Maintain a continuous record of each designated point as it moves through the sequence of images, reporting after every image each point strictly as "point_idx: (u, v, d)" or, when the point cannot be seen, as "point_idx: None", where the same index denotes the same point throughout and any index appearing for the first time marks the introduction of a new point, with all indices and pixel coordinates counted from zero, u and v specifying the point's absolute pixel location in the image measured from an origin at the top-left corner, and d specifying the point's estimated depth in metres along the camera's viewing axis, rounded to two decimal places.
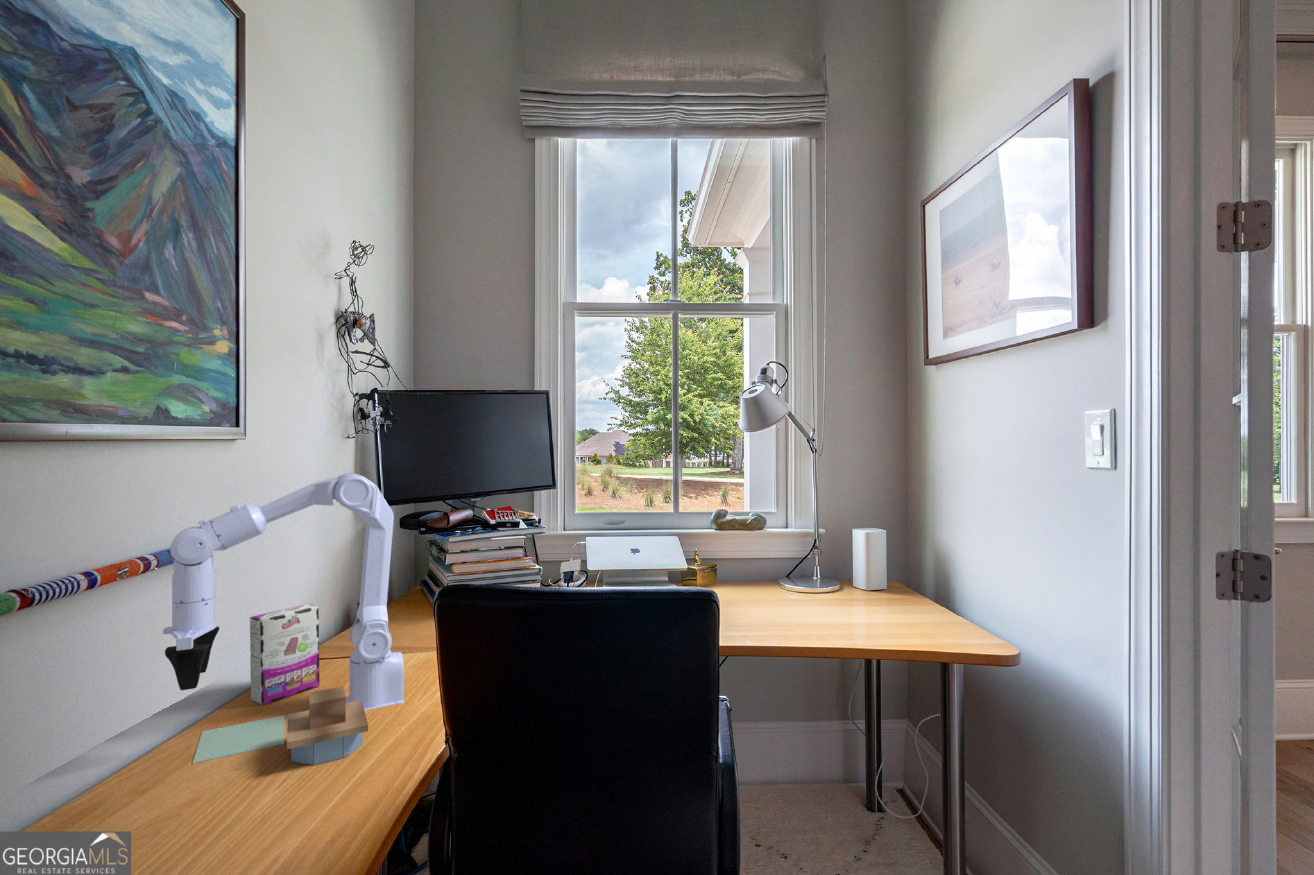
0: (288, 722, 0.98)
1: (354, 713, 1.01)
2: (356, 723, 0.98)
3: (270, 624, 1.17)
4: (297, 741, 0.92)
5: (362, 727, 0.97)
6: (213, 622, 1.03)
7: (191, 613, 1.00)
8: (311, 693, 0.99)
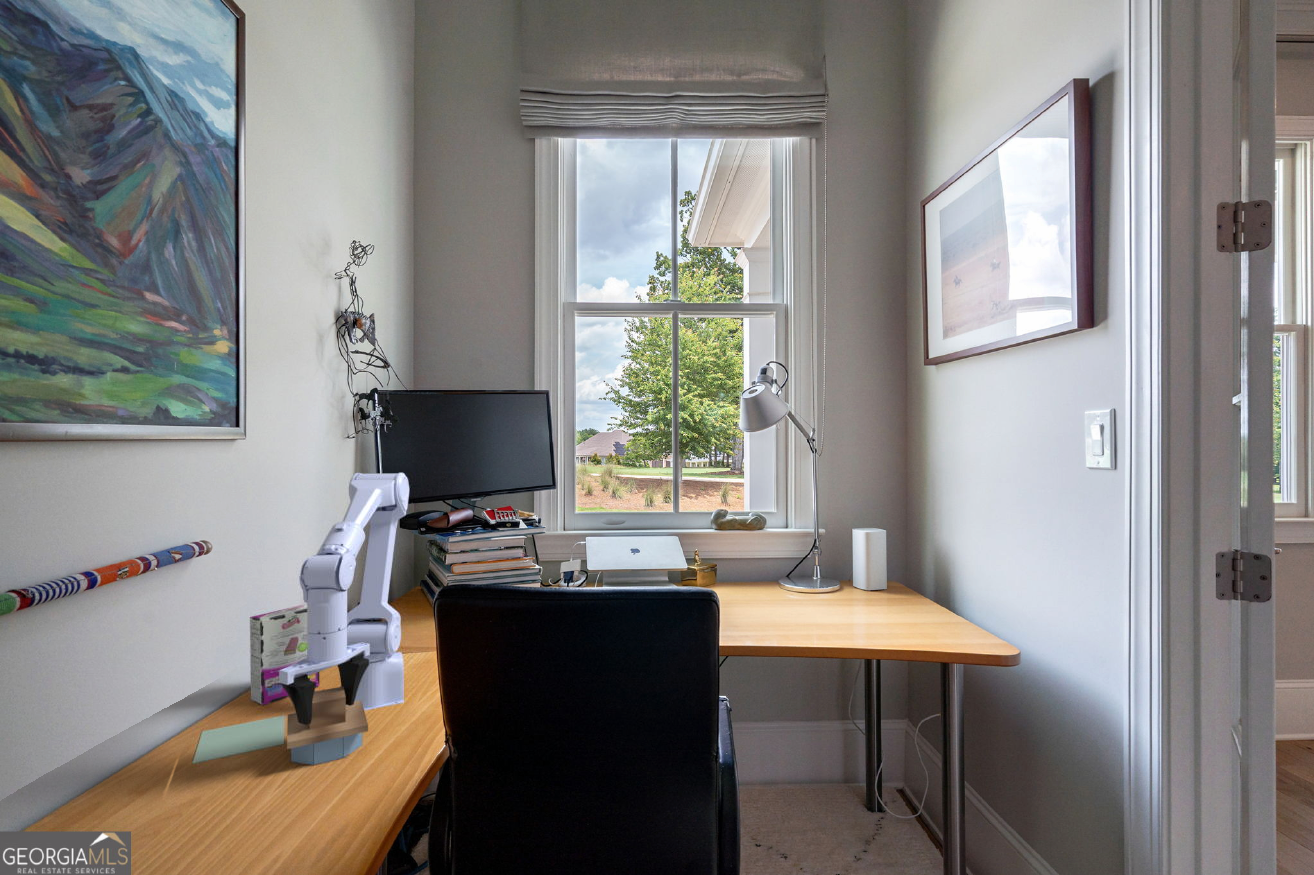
0: (288, 722, 0.98)
1: (354, 713, 1.01)
2: (356, 723, 0.98)
3: (270, 624, 1.17)
4: (297, 741, 0.92)
5: (362, 727, 0.97)
6: (336, 658, 0.97)
7: (311, 644, 0.96)
8: None
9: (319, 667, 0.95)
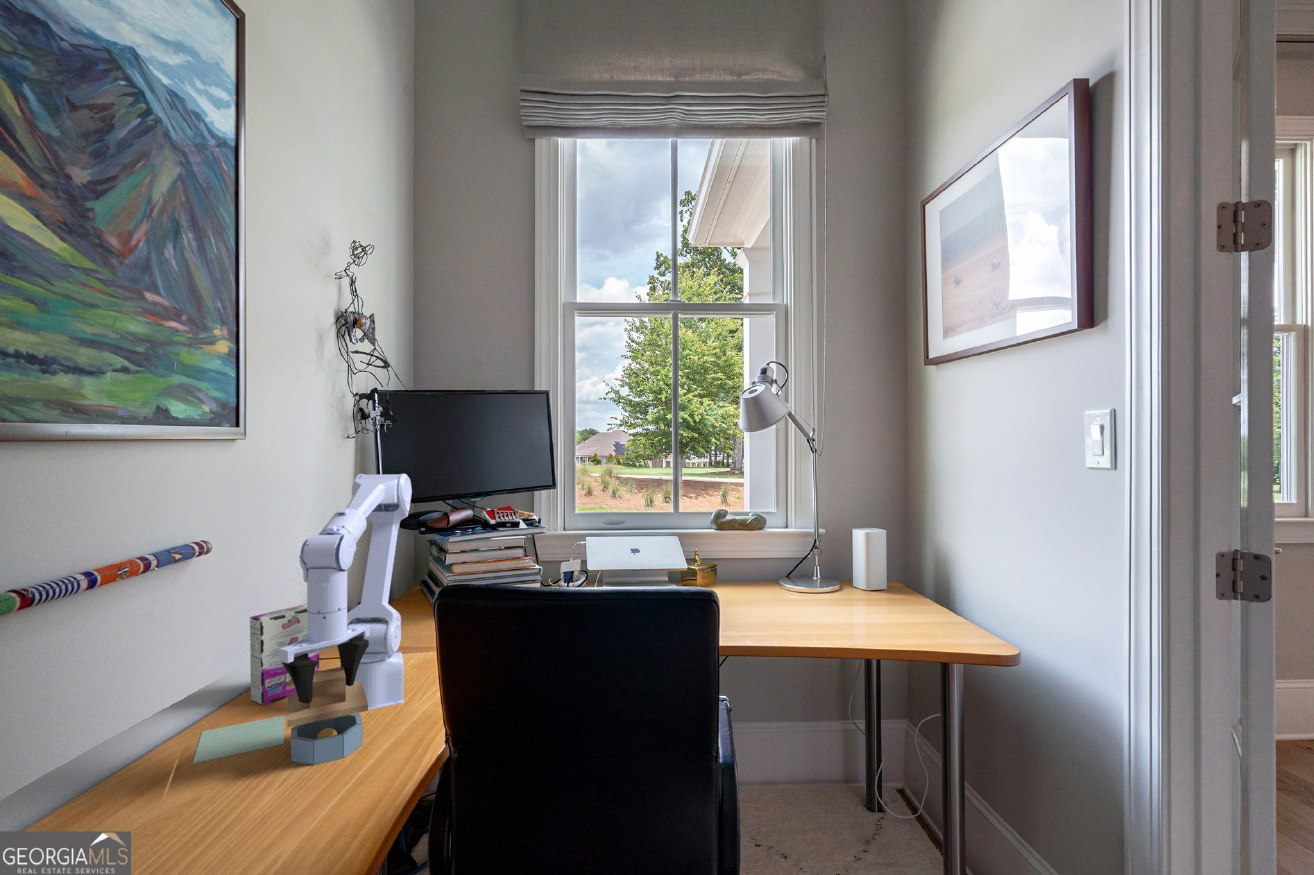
0: (288, 702, 0.98)
1: (354, 693, 1.01)
2: (356, 703, 0.98)
3: (270, 624, 1.17)
4: (297, 719, 0.92)
5: (362, 706, 0.97)
6: (336, 637, 0.97)
7: (311, 624, 0.96)
8: None
9: (319, 646, 0.95)
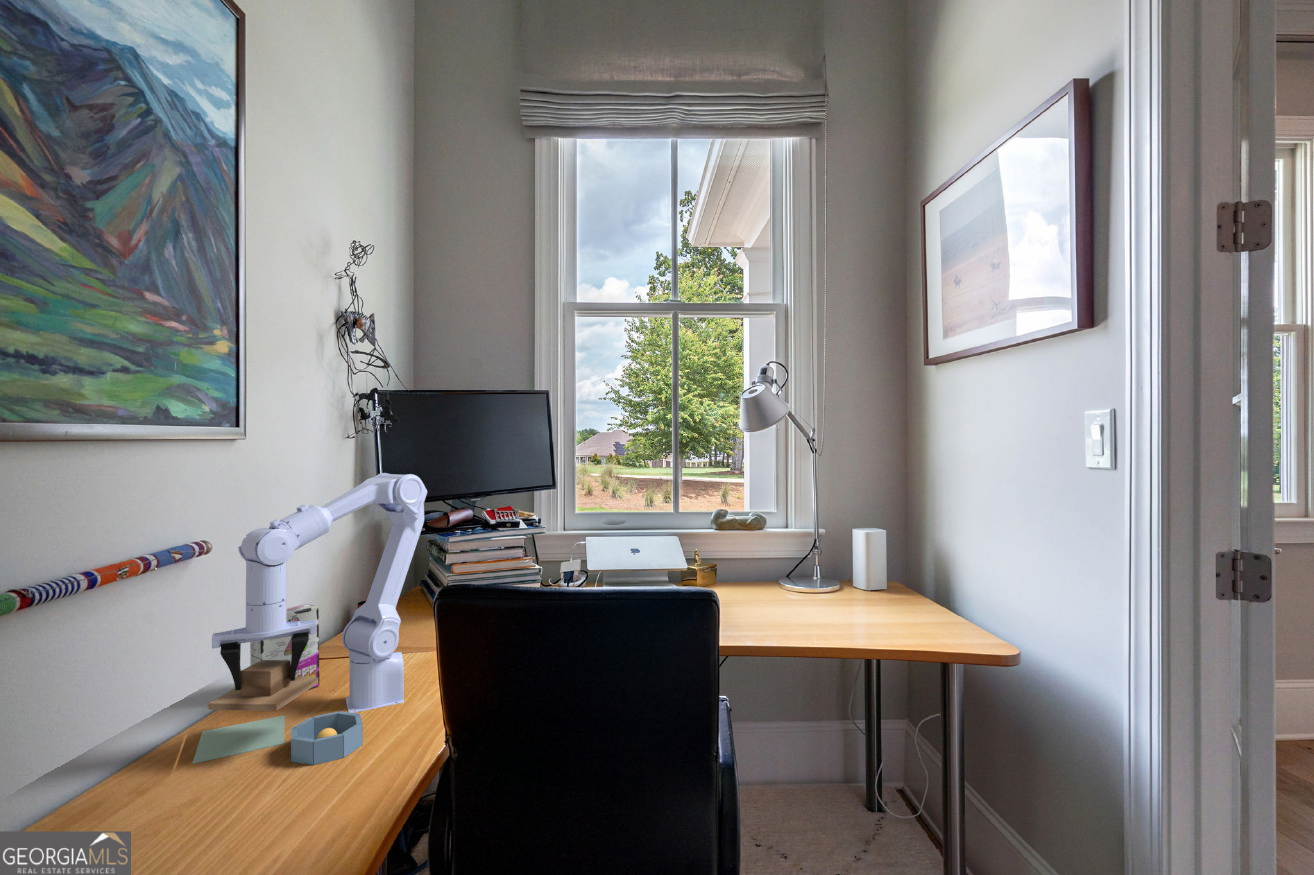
0: None
1: (291, 689, 1.01)
2: (273, 700, 0.97)
3: None
4: (216, 704, 0.96)
5: (271, 705, 0.96)
6: (262, 631, 0.99)
7: None
8: (260, 661, 1.03)
9: (244, 637, 0.98)
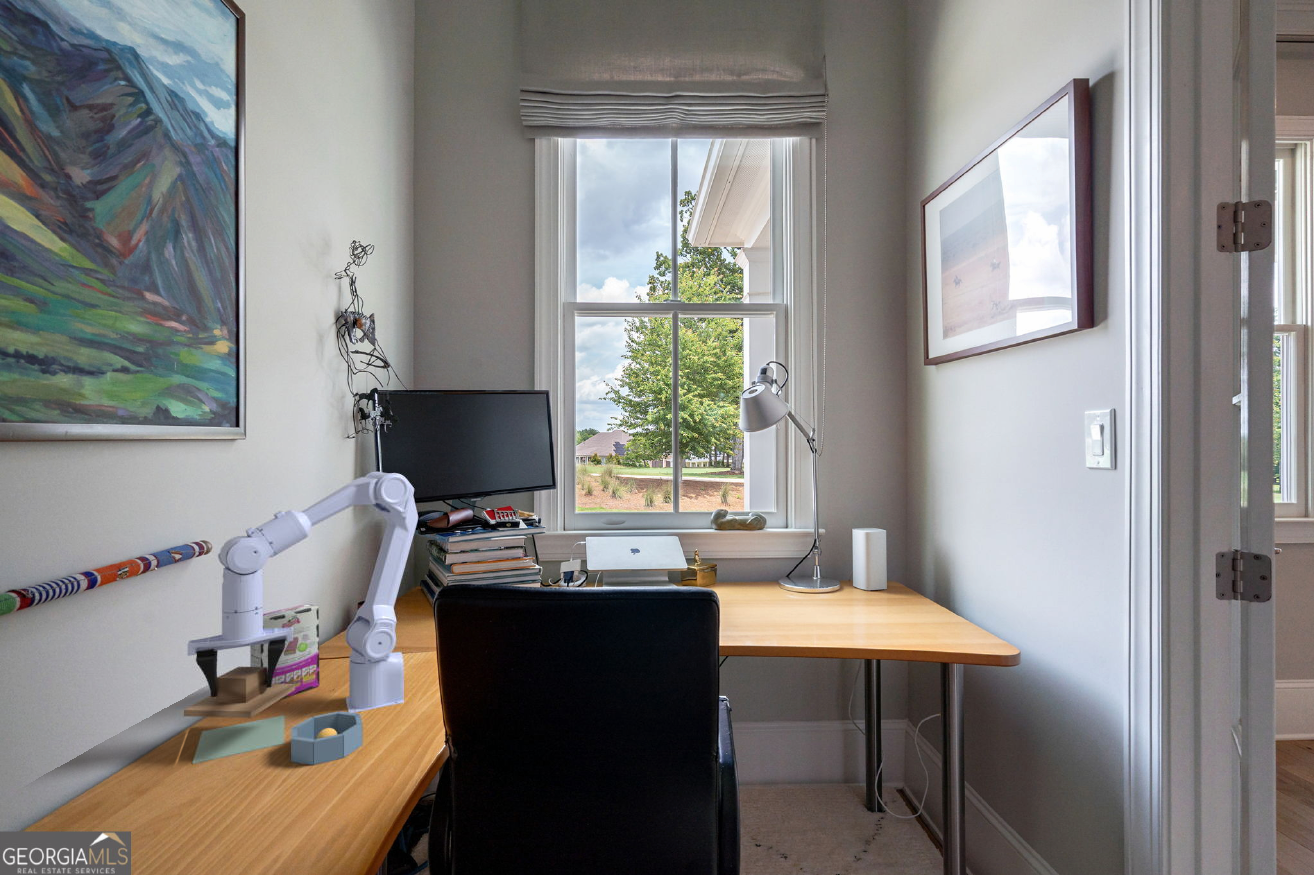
0: None
1: (267, 696, 1.02)
2: (248, 707, 0.98)
3: (270, 624, 1.17)
4: (191, 711, 0.97)
5: (245, 712, 0.96)
6: (237, 638, 1.00)
7: None
8: (237, 668, 1.04)
9: (219, 644, 0.99)
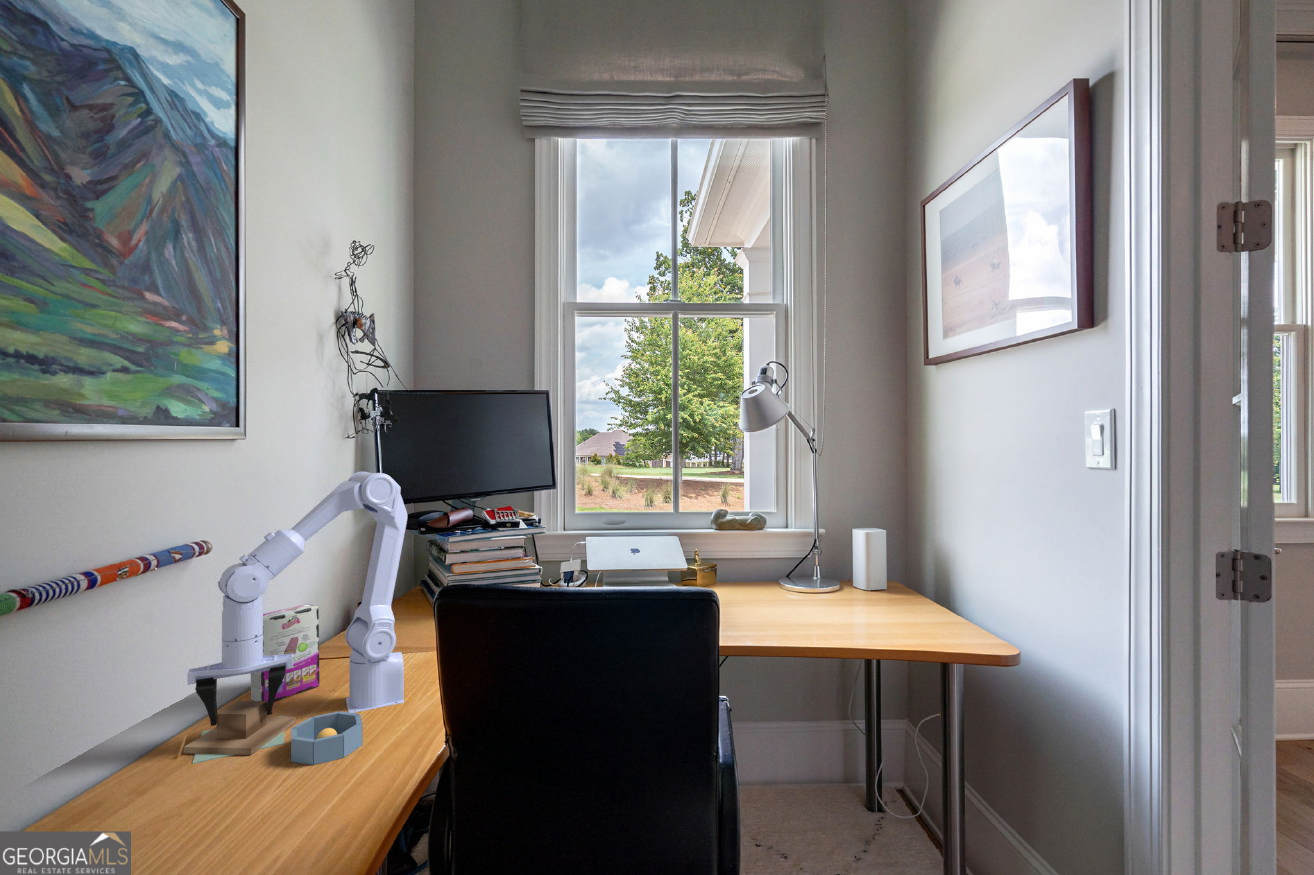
0: None
1: (267, 730, 1.02)
2: (248, 743, 0.98)
3: (270, 624, 1.17)
4: (191, 748, 0.97)
5: (246, 749, 0.96)
6: (237, 667, 1.00)
7: None
8: (237, 702, 1.04)
9: (219, 673, 0.99)
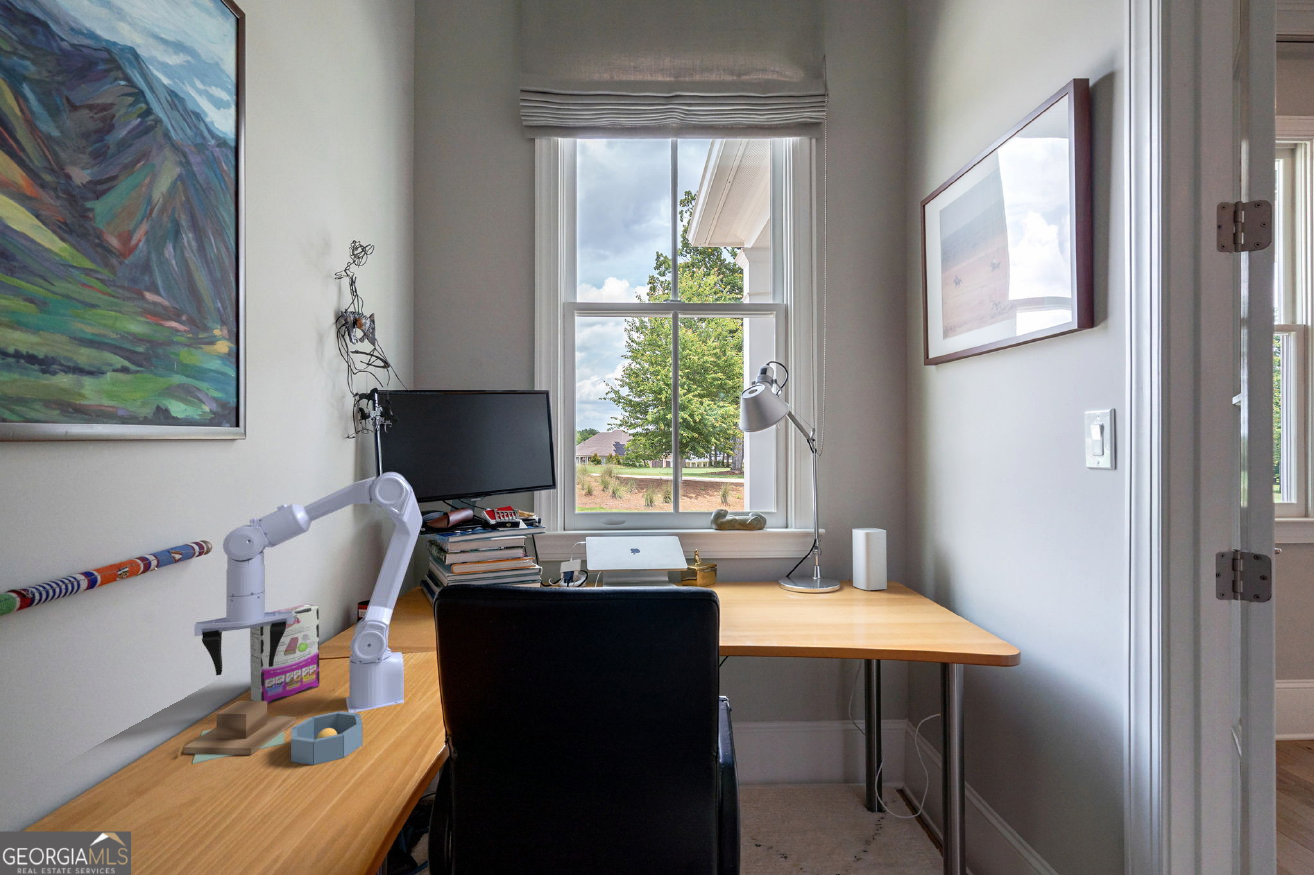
0: None
1: (267, 730, 1.02)
2: (248, 743, 0.98)
3: None
4: (191, 748, 0.97)
5: (246, 749, 0.96)
6: (241, 620, 1.07)
7: (226, 604, 1.08)
8: (237, 702, 1.04)
9: (224, 626, 1.06)
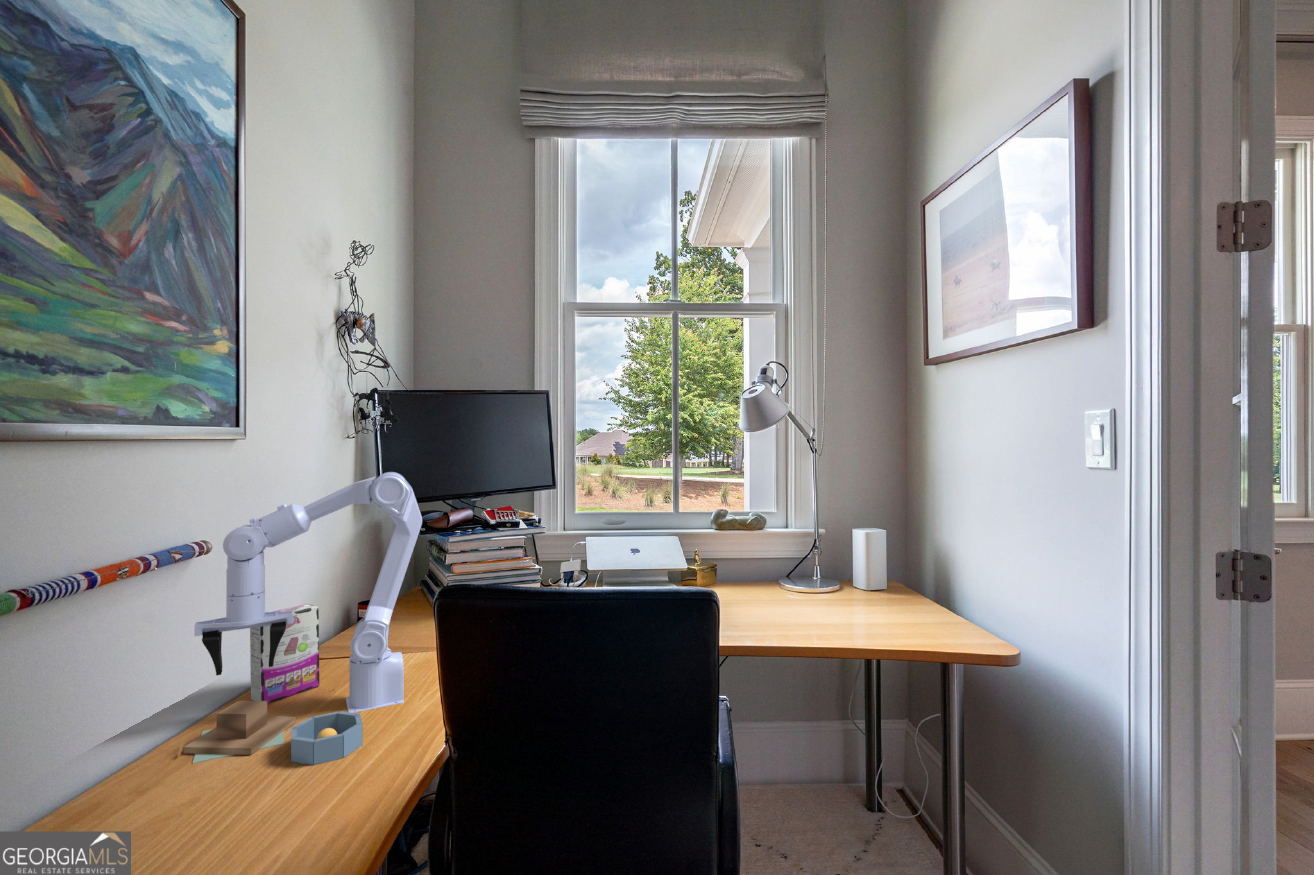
0: None
1: (267, 730, 1.02)
2: (248, 743, 0.98)
3: None
4: (191, 748, 0.97)
5: (246, 749, 0.96)
6: (241, 620, 1.07)
7: (226, 604, 1.08)
8: (237, 702, 1.04)
9: (224, 626, 1.06)
